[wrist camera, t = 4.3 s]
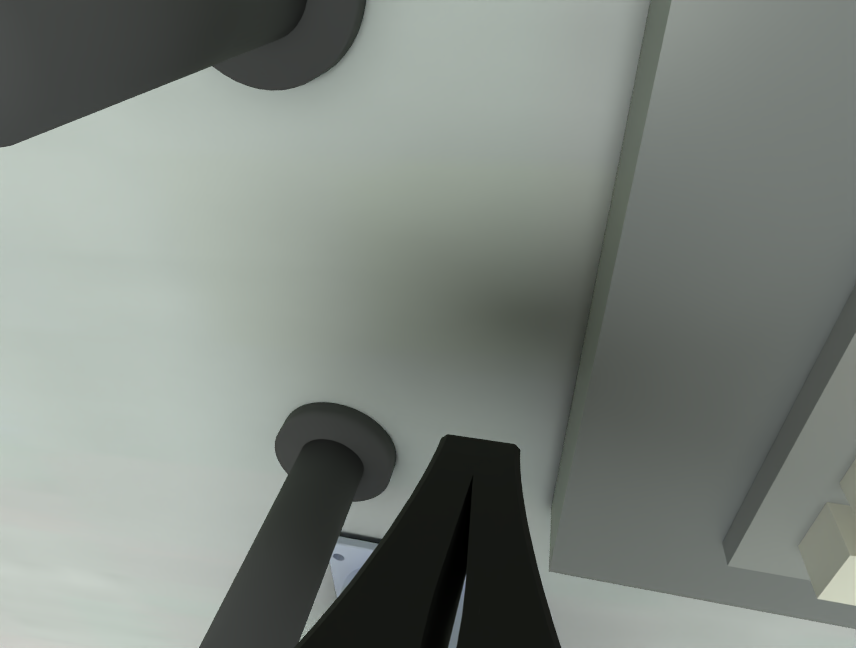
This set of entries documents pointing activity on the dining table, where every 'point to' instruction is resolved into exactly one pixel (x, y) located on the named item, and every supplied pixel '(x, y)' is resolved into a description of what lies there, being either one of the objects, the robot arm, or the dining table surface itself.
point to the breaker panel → (725, 321)
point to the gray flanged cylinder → (302, 524)
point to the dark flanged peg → (155, 50)
